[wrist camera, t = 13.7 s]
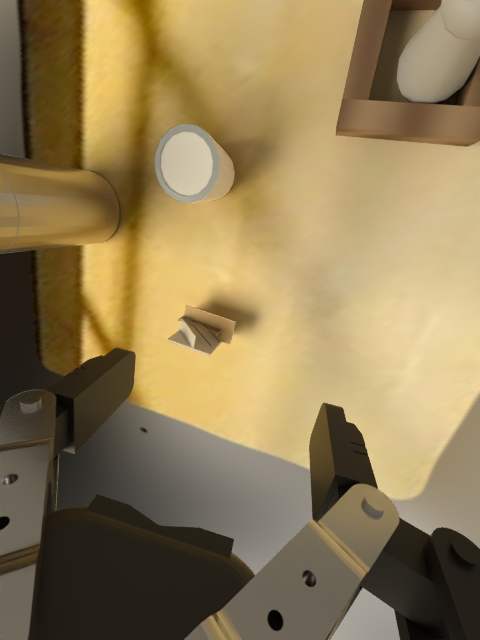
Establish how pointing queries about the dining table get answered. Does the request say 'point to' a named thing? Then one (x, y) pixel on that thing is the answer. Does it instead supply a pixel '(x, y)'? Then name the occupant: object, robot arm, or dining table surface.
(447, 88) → the salt shaker
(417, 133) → the socket
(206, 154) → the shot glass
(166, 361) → the dining table surface
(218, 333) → the architectural model
